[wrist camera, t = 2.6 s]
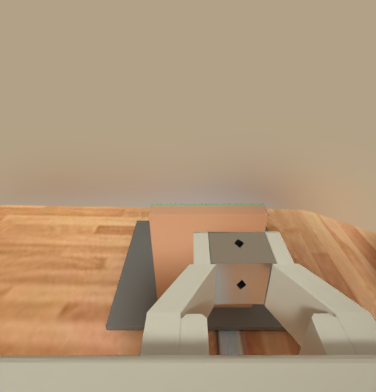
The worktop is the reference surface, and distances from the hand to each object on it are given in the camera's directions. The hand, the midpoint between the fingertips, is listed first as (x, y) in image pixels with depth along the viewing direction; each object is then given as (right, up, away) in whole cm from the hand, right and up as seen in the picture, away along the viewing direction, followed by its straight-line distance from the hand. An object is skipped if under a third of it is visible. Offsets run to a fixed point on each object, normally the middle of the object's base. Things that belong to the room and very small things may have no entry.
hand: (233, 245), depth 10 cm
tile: (0, -10, +19) cm, 22 cm away
